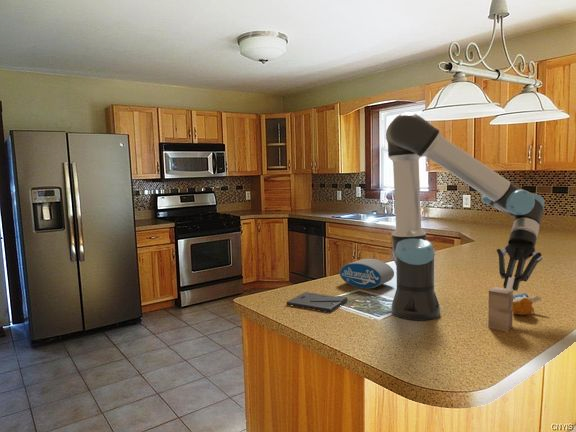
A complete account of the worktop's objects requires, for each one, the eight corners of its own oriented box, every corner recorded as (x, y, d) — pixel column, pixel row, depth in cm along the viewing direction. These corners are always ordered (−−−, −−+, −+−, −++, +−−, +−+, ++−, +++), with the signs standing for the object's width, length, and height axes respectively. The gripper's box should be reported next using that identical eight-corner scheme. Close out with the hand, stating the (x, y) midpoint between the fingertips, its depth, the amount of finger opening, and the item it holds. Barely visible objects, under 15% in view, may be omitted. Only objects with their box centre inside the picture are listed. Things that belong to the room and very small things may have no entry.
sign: (394, 285, 166) (393, 261, 165) (381, 291, 159) (381, 266, 158) (353, 278, 179) (352, 256, 178) (339, 284, 172) (339, 260, 171)
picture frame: (347, 303, 149) (305, 296, 159) (347, 297, 149) (305, 291, 158) (330, 314, 138) (286, 307, 148) (330, 308, 138) (286, 301, 147)
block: (494, 322, 123) (494, 286, 122) (512, 326, 120) (513, 289, 119) (488, 327, 120) (488, 290, 118) (507, 331, 116) (507, 293, 115)
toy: (536, 285, 136) (538, 293, 123) (544, 303, 135) (547, 313, 122) (498, 295, 142) (497, 303, 129) (506, 312, 141) (504, 322, 127)
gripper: (548, 243, 131) (534, 308, 121) (504, 240, 140) (487, 300, 130) (545, 229, 127) (530, 295, 117) (499, 227, 136) (481, 288, 125)
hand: (507, 298), depth 123 cm, fingers closed
